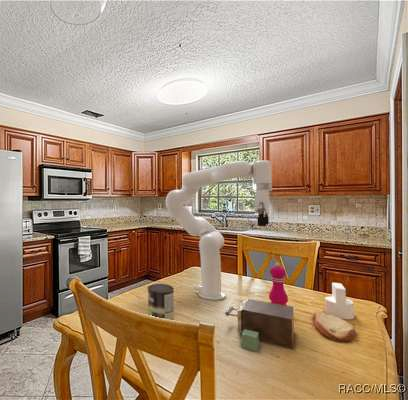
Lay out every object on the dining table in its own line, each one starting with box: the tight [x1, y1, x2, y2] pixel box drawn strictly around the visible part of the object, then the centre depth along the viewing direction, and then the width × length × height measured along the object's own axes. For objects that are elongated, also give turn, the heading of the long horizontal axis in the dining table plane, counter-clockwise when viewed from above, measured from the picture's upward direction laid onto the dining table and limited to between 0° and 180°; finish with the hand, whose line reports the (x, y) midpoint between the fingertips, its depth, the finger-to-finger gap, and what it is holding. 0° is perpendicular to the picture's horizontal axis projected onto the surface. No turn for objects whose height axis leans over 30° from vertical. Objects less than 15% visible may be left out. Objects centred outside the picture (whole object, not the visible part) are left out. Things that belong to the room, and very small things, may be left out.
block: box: [241, 329, 260, 352], centre depth 90 cm, size 4×4×4 cm
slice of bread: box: [313, 310, 357, 343], centre depth 101 cm, size 18×18×4 cm
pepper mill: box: [268, 262, 289, 306], centre depth 121 cm, size 7×7×20 cm
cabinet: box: [242, 298, 295, 350], centre depth 97 cm, size 15×13×10 cm
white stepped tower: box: [324, 282, 355, 320], centre depth 113 cm, size 9×9×12 cm
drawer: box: [224, 300, 247, 334], centre depth 100 cm, size 18×11×8 cm, turn 54°
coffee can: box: [147, 283, 175, 321], centre depth 109 cm, size 10×10×14 cm
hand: (263, 225), depth 124 cm, fingers open, 9 cm apart
